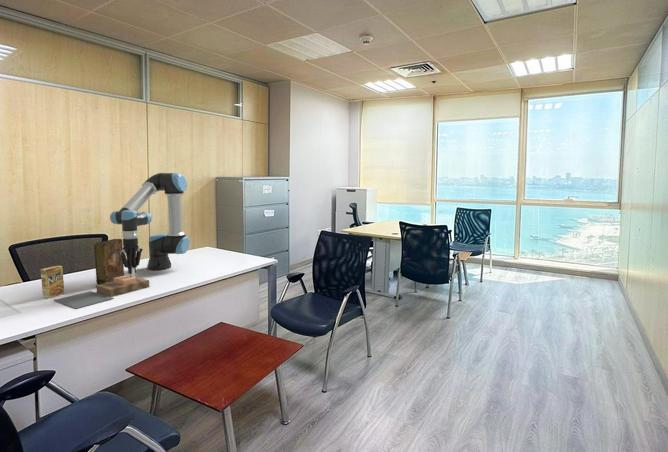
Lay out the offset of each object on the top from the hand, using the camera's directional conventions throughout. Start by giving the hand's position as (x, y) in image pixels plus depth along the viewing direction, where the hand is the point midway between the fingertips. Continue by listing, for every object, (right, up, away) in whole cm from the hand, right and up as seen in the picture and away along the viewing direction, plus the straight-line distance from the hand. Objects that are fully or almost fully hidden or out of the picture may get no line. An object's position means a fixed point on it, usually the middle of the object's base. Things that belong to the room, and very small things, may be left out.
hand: (132, 278), depth 222 cm
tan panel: (-3, -6, -4) cm, 7 cm away
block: (-2, -2, -3) cm, 4 cm away
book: (-17, -4, +9) cm, 20 cm away
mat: (-14, -8, -22) cm, 27 cm away
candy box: (-33, -7, -16) cm, 38 cm away
